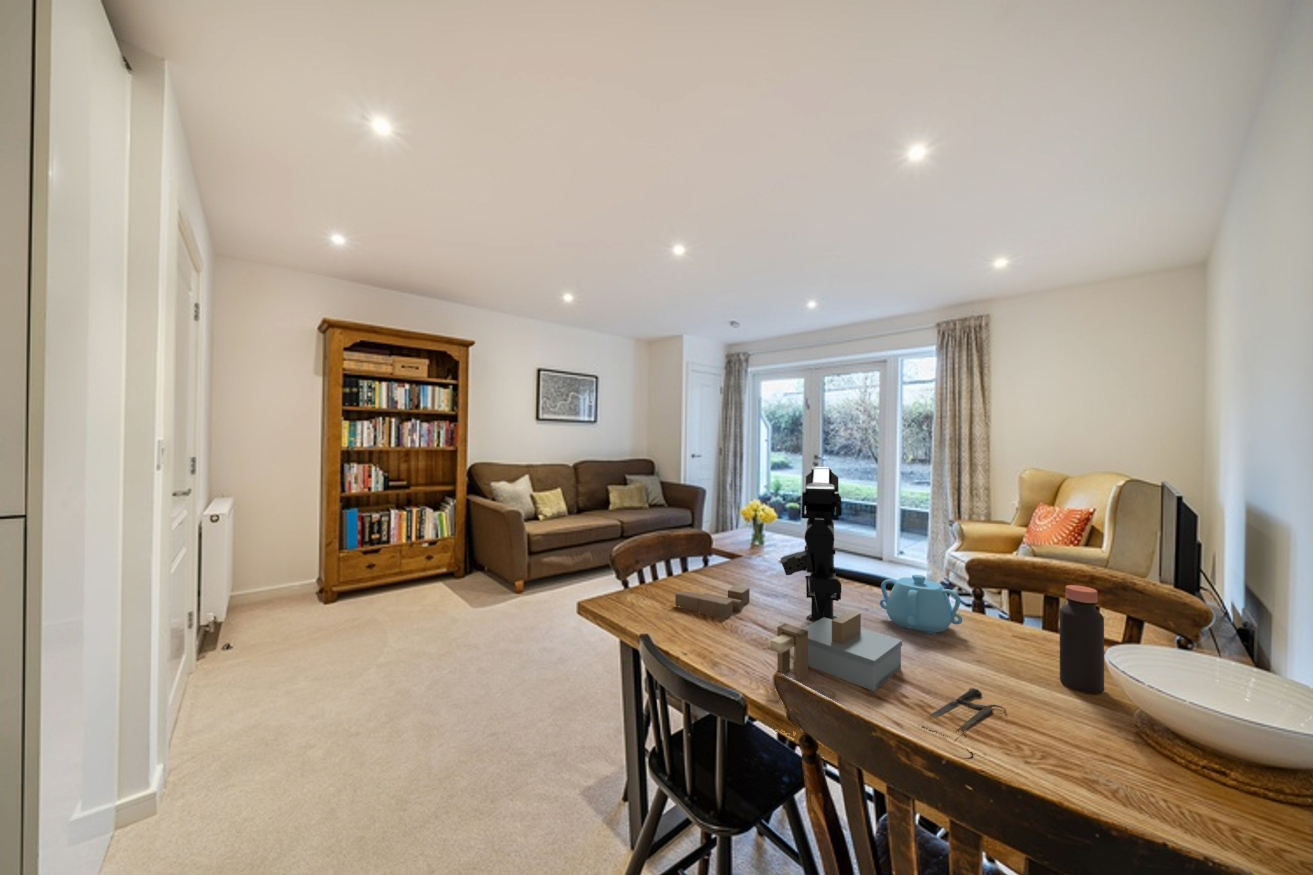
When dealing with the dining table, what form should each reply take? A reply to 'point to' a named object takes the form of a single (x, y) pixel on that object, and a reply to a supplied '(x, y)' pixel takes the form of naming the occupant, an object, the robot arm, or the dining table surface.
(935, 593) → the decorative pot
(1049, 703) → the dining table surface
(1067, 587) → the bottle
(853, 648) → the lid
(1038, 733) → the dining table surface
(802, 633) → the toolbox
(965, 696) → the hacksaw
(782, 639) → the wooden key
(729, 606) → the wooden block set
